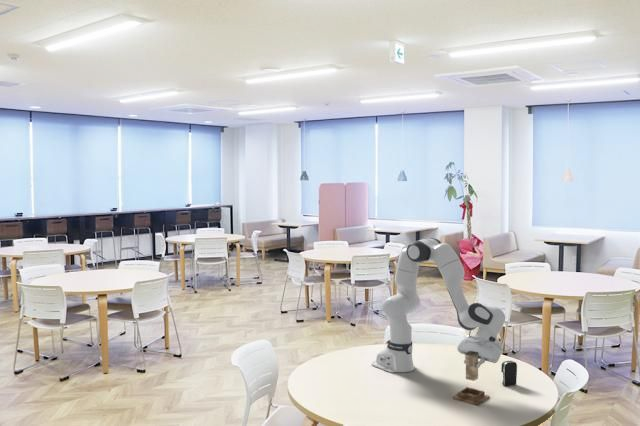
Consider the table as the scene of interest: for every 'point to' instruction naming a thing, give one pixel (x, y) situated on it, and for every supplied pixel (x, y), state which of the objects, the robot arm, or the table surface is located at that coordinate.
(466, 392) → the dock
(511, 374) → the battery charger
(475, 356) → the tall wooden pillar
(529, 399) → the table surface
